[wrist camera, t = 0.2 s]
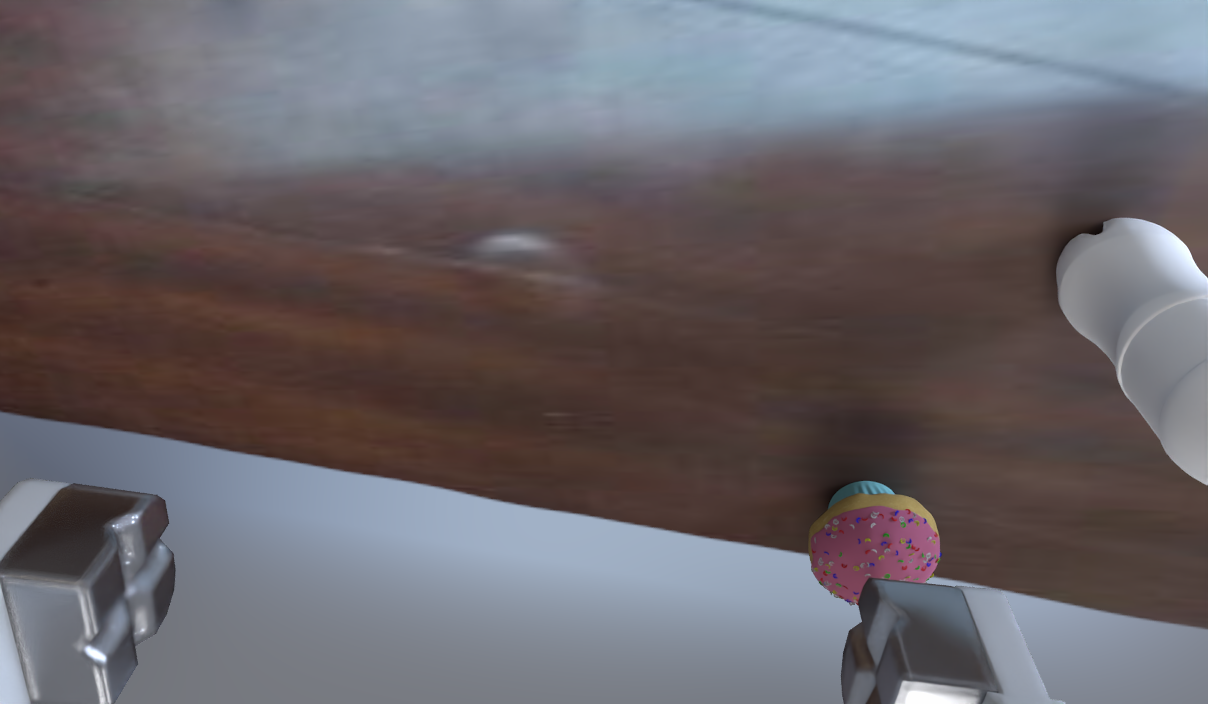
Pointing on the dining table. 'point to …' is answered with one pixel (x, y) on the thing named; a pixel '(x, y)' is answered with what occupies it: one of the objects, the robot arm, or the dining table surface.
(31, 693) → the robot arm
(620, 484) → the dining table surface
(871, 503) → the cupcake
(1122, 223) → the water bottle
